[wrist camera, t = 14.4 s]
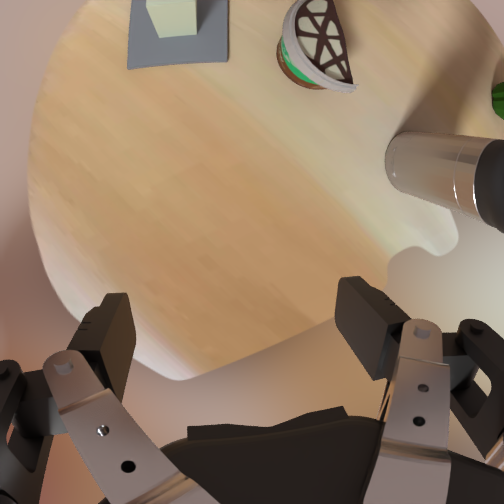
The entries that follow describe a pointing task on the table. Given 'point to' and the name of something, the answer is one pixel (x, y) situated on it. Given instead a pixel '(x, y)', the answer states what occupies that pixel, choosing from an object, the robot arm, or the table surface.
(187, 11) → the sage block
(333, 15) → the food container
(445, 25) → the table surface
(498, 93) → the bell pepper
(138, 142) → the table surface
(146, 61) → the plate
